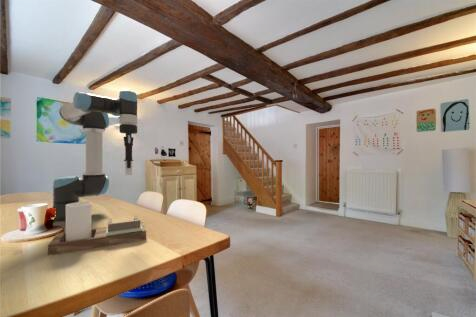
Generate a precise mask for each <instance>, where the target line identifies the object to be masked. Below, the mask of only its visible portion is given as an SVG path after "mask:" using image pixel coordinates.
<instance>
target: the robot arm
mask: <svg viewBox="0 0 476 317" xmlns="http://www.w3.org/2000/svg"><path fill="white" fill-rule="evenodd" d="M118 94H119V95H118V98H111V97H108V96H101V95H97V94H93V93H88V92H80V91H79V92H78V91H77V92H75V93H74V95H73V100H72V102H69V103H64V104H62V106H60V108H59V111H58V112H59V116H60V118H61V119H62V120H63V121H65V122H67V123H68V124H71V125H74V126H81V127H82V131H84V132H85V171H84V173H82V177H80V176H79V175H78V174H77V175H75V174H74V175H66V176H62V177H61V176H59V177H56V178H55V179H54V180H53V183H52V184H53V185H52V192H53V193H52V202H53V203H52V206H51V209H52V208H56V217H55V218H54V221H53V222H57V221H58V222H59V221H61V222H62V221H66V205H67V204H70V203H76V202H80V198H84V197H85V198H86V197H92V196H93V197H95V196H102V195H105V194H106V193H107V192H108V189H109V186H110V178H109V176H107V175H106V173H105V171H103V133H105V132H106V129H107V128H108V127H109V126H110V117H109V115H112V116H113V117H114V116H115V117H117V119H118V120H119V128H118V129H119V133H121V134H124V135H125V136H124V137H123V142H124V144H123V145H124V150H125V154H124V156H125V157H124V160H123V161H124V162H125V168H124V170H125V171H124V172H125V176H132V175H133V162H134V159H133V146H134V136H133V135H135V134H137V133H138V95H137V93H136V92H135V91H131V90H121V91H120V92H118Z"/></svg>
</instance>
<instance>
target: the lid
mask: <svg viewBox="0 0 476 317" xmlns="http://www.w3.org/2000/svg"><path fill="white" fill-rule="evenodd" d="M141 222H142V221H141V219H138V220H134V219H133V220H127V221H126V220H125V221H118V222H112V223H109V224H108V223H107V225H106V227H107V231H106V236H109V235H116V234H122V233H129V232H136V231H142V226H141Z"/></svg>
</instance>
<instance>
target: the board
mask: <svg viewBox="0 0 476 317" xmlns="http://www.w3.org/2000/svg"><path fill="white" fill-rule="evenodd" d="M133 220H139V218H138V216H137V215H136V216H135V215H134V217H133ZM109 223H113V219H112V218H109V219H108V222H107V225H108V224H109ZM141 226H142V231H136V232H129V233H122V234H116V235H109V236H106V231H107V226H101V227H94V228H91V238H86V239H80V240H73V241H66V231H64V232H57V233H56V234H55V236H54V237H53V238H52V240H51V241H50V242H49V243H48V245H47V256H52V255H59V254H65V253H70V252H77V251H83V250H88V249H94V248H96V249H97V248H100V247H102V248H103V247H106V246H113V245H119V244H126V243H130V242H137V241H138V242H139V241H143V240H147V229H146V227H145V224H144V222H143V221H141Z"/></svg>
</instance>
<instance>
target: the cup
mask: <svg viewBox="0 0 476 317" xmlns="http://www.w3.org/2000/svg"><path fill="white" fill-rule="evenodd" d="M91 229H92V202H91V201H79V202H76V203H70V204H67V205H66V220H65V232H66V241H73V240H80V239H86V238H91Z"/></svg>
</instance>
